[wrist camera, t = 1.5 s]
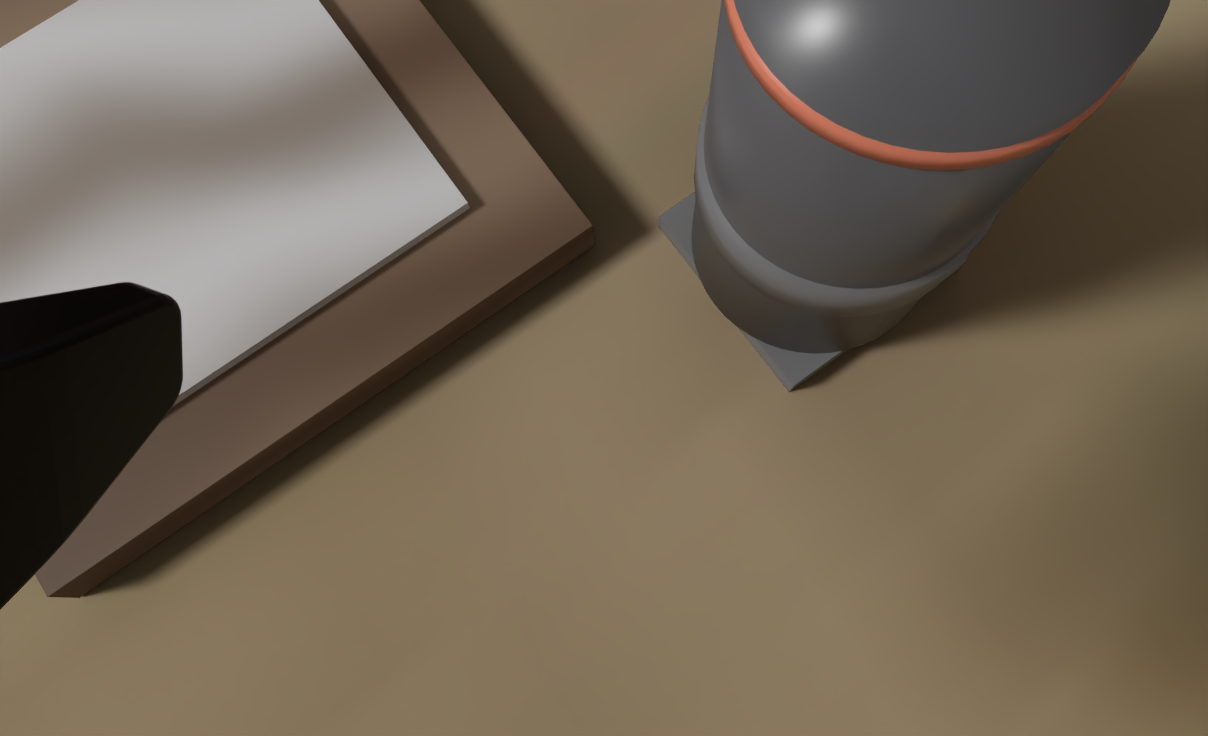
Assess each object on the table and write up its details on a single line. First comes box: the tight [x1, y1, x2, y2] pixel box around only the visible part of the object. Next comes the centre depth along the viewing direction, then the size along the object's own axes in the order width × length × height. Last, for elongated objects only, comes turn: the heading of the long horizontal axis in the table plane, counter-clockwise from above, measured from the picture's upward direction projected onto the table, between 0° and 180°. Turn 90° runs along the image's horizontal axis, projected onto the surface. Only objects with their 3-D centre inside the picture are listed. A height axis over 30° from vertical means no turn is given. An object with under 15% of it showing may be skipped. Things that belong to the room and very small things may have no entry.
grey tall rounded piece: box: [659, 0, 1170, 392], centre depth 18 cm, size 6×6×11 cm
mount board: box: [0, 0, 595, 598], centre depth 23 cm, size 14×14×2 cm
